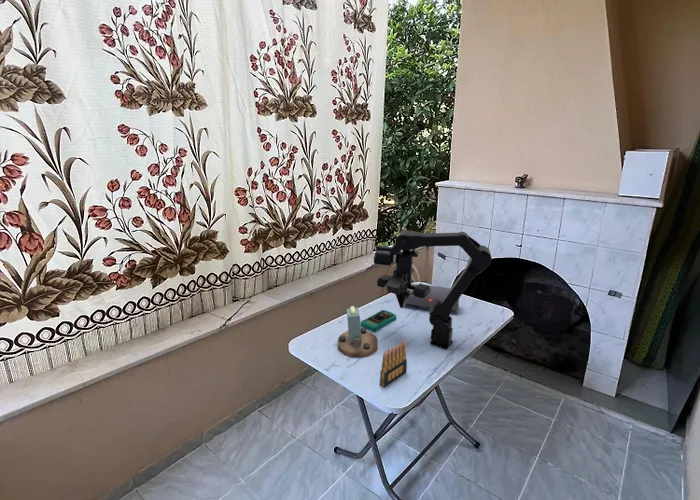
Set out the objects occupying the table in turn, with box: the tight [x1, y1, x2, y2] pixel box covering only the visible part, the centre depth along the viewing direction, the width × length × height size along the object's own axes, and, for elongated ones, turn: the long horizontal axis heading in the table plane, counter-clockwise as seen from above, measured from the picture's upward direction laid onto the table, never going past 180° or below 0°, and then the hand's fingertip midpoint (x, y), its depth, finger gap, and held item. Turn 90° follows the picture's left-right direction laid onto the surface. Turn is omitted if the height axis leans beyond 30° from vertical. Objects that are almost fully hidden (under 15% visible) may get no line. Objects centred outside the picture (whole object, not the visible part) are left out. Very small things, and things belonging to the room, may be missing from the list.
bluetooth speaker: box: [405, 283, 460, 311], centre depth 161 cm, size 23×9×10 cm, turn 73°
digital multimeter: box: [360, 309, 397, 333], centre depth 150 cm, size 7×15×3 cm, turn 138°
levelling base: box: [337, 327, 379, 359], centre depth 133 cm, size 14×14×6 cm
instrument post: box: [346, 305, 362, 343], centre depth 131 cm, size 4×6×11 cm, turn 4°
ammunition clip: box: [379, 339, 408, 389], centre depth 115 cm, size 11×2×12 cm, turn 134°
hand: (401, 307), depth 136 cm, fingers closed
